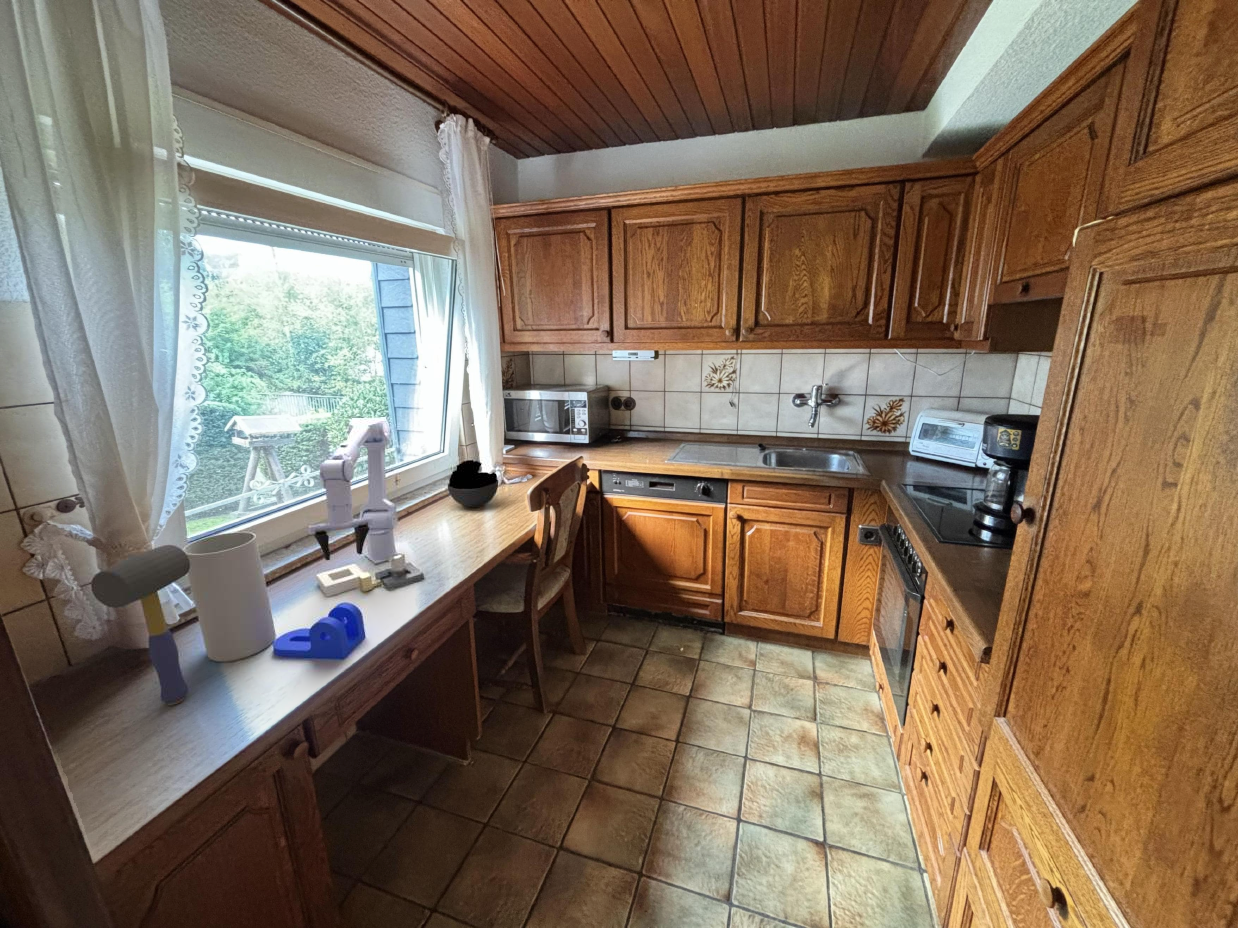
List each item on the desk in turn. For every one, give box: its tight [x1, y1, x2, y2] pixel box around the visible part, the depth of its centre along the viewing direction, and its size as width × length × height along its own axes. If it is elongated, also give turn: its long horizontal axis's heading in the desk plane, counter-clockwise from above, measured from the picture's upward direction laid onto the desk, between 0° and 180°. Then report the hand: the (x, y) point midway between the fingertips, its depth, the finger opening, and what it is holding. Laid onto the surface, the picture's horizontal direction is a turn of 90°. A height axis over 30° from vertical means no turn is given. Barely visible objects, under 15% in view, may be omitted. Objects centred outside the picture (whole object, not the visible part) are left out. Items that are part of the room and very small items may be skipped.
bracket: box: [272, 601, 367, 661], centre depth 112 cm, size 18×8×9 cm, turn 85°
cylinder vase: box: [182, 531, 276, 663], centre depth 111 cm, size 12×12×25 cm
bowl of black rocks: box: [447, 459, 499, 508], centre depth 206 cm, size 20×20×19 cm
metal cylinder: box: [389, 552, 407, 579], centre depth 145 cm, size 4×4×7 cm
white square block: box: [316, 563, 364, 598], centre depth 142 cm, size 10×10×3 cm
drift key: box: [358, 571, 383, 593], centre depth 140 cm, size 3×5×4 cm, turn 133°
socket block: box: [374, 562, 425, 591], centre depth 145 cm, size 10×10×2 cm
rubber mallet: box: [90, 544, 190, 706], centre depth 93 cm, size 12×8×30 cm, turn 175°
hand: (343, 556), depth 133 cm, fingers open, 7 cm apart
